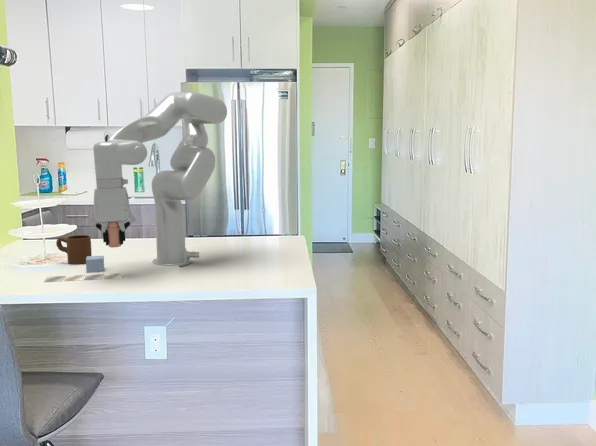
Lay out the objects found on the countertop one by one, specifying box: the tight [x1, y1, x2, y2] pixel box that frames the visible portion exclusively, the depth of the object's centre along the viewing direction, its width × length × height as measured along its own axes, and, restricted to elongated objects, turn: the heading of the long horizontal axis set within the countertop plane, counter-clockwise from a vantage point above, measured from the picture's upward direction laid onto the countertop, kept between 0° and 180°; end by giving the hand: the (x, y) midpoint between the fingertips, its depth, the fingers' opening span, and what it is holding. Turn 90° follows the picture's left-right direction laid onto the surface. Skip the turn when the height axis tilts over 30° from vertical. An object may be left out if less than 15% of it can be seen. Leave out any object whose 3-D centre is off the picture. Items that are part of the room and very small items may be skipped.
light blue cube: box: [85, 255, 105, 274], centre depth 178 cm, size 5×5×5 cm
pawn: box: [106, 222, 122, 248], centre depth 170 cm, size 4×4×8 cm
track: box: [43, 272, 123, 283], centre depth 170 cm, size 22×7×1 cm, turn 104°
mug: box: [55, 234, 93, 266], centre depth 189 cm, size 12×8×9 cm, turn 80°
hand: (114, 243), depth 171 cm, fingers closed on pawn, 3 cm apart
